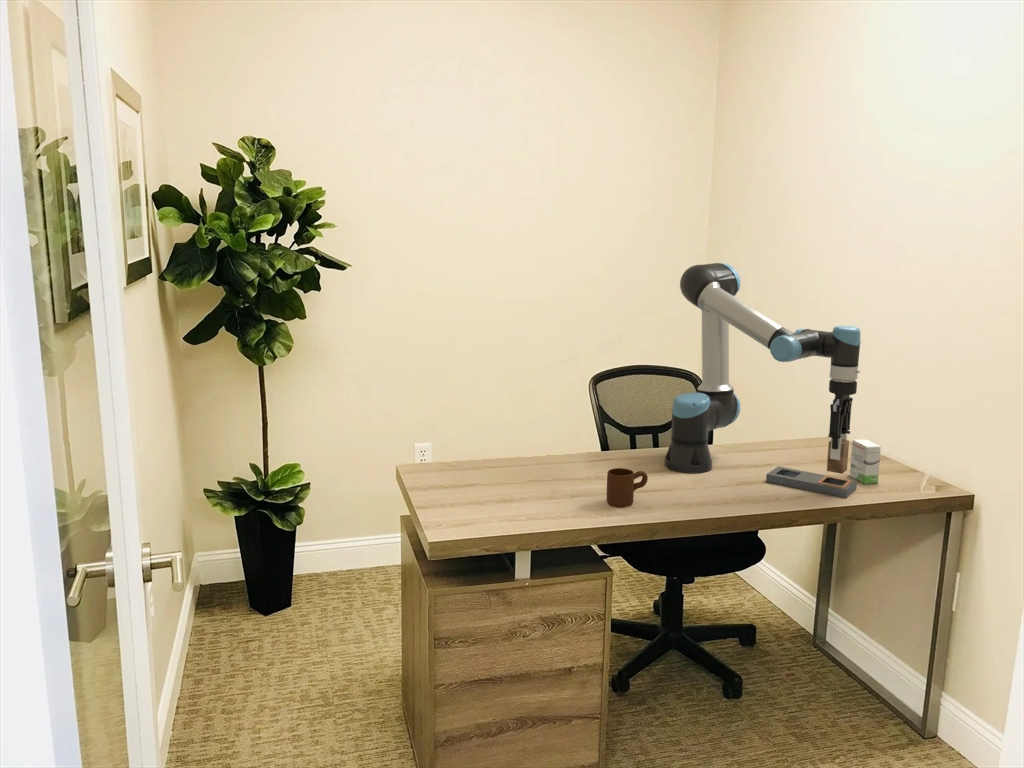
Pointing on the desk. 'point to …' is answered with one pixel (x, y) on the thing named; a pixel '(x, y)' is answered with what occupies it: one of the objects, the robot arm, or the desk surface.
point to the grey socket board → (812, 481)
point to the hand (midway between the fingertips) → (837, 456)
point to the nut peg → (841, 464)
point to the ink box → (865, 461)
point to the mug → (623, 486)
